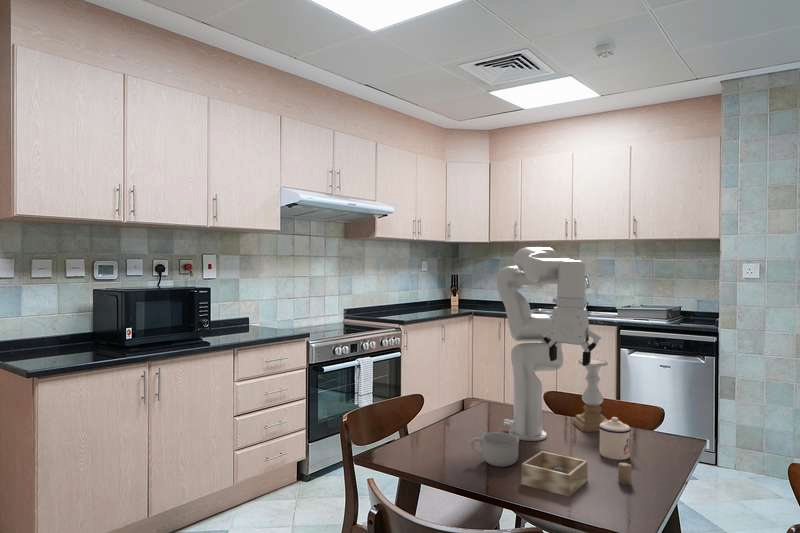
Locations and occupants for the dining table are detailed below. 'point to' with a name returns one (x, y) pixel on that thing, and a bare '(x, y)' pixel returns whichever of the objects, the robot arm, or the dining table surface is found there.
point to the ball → (559, 469)
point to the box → (554, 473)
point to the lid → (624, 474)
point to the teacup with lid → (614, 439)
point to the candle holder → (591, 399)
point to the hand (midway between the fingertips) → (569, 362)
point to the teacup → (498, 448)
